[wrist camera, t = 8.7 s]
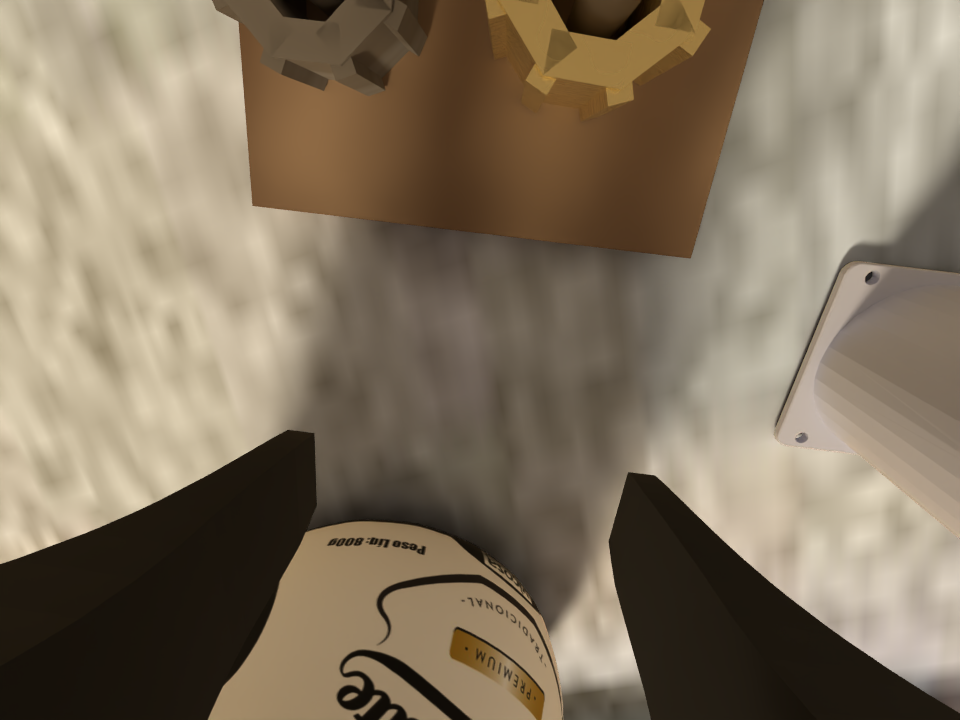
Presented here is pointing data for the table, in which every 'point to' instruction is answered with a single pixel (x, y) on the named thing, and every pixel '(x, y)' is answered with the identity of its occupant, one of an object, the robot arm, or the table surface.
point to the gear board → (478, 123)
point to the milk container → (394, 634)
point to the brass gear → (591, 51)
